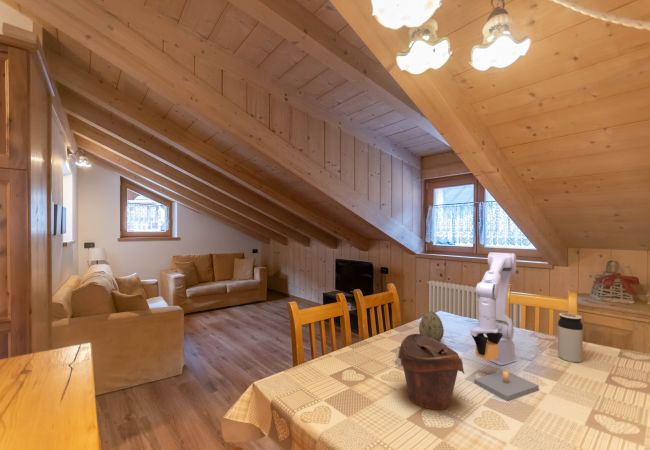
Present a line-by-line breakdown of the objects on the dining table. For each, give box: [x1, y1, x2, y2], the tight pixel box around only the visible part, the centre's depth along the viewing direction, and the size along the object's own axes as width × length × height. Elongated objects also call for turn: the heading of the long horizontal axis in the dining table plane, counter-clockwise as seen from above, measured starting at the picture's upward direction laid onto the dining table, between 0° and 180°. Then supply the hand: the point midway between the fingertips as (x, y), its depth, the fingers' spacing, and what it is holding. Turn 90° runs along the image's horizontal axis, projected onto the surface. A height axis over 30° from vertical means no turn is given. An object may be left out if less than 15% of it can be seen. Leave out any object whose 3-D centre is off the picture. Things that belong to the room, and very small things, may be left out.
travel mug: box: [557, 312, 584, 363], centre depth 129 cm, size 8×8×18 cm
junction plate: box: [473, 369, 540, 402], centre depth 106 cm, size 16×12×5 cm
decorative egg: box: [418, 310, 445, 342], centre depth 144 cm, size 11×11×15 cm
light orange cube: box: [475, 340, 498, 362], centre depth 113 cm, size 5×5×5 cm
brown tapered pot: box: [398, 333, 465, 411], centre depth 98 cm, size 18×20×18 cm
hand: (486, 353), depth 113 cm, fingers closed on light orange cube, 5 cm apart
